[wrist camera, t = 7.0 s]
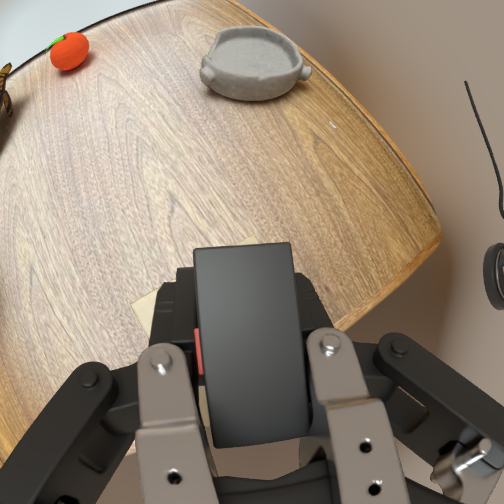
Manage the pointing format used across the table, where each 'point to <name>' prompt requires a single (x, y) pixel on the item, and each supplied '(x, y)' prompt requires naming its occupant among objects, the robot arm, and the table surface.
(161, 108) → the table surface
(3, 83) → the decorative fish sculpture
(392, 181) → the table surface
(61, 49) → the clementine
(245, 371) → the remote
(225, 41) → the dish
